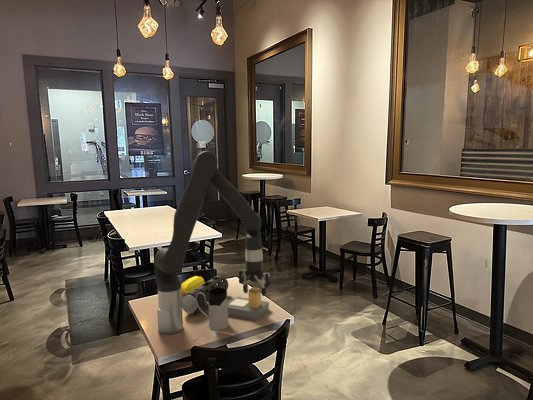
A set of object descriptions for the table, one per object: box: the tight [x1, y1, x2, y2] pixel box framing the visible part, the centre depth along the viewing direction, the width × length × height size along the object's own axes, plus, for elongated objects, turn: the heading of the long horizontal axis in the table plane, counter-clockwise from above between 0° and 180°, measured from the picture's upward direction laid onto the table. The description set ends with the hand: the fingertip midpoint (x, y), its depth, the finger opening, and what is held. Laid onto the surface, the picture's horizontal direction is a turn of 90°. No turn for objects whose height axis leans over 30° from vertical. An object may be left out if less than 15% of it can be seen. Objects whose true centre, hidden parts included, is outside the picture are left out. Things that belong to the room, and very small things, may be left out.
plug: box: [248, 286, 262, 309], centre depth 167 cm, size 4×4×11 cm
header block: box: [228, 296, 270, 322], centre depth 169 cm, size 12×16×4 cm
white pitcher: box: [195, 288, 230, 332], centre depth 157 cm, size 9×14×15 cm, turn 77°
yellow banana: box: [181, 275, 205, 297], centre depth 196 cm, size 18×7×8 cm
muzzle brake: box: [182, 274, 229, 314], centre depth 179 cm, size 10×28×10 cm, turn 157°
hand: (254, 294), depth 167 cm, fingers open, 8 cm apart
